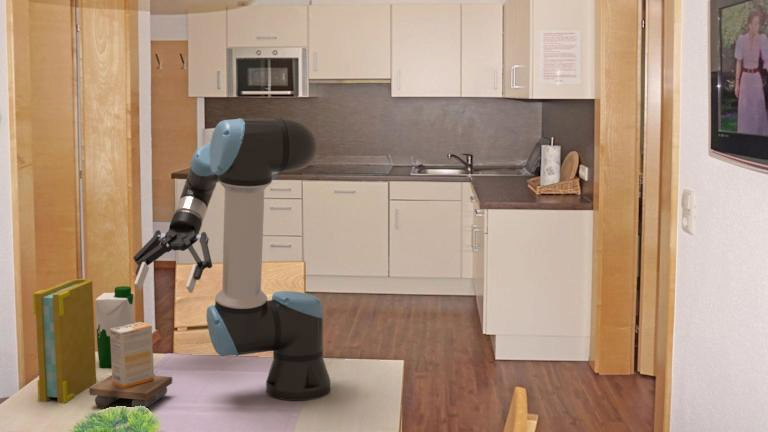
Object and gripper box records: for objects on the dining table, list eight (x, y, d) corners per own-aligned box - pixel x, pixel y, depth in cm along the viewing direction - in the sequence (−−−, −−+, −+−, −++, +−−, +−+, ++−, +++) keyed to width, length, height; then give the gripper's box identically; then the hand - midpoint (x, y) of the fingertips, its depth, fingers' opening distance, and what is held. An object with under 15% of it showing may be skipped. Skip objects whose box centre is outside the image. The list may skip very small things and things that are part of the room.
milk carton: (129, 369, 234) (127, 291, 231) (94, 368, 234) (91, 291, 231) (139, 358, 243) (136, 284, 240) (104, 358, 243) (101, 284, 240)
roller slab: (172, 395, 214) (171, 376, 214) (147, 413, 203) (146, 393, 202) (117, 390, 218) (117, 372, 217) (90, 407, 206) (89, 388, 205)
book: (65, 403, 209) (60, 295, 206) (38, 400, 210) (33, 293, 207) (102, 379, 225) (98, 279, 222) (77, 378, 227) (72, 278, 223)
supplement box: (142, 376, 214) (140, 321, 212) (154, 380, 211) (152, 324, 209) (110, 384, 208) (108, 327, 206) (122, 389, 205) (120, 331, 203)
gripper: (238, 229, 237) (215, 299, 224) (148, 226, 242) (122, 294, 230) (229, 211, 231) (206, 282, 218) (138, 208, 236) (110, 277, 224)
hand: (163, 288), depth 224 cm, fingers open, 13 cm apart
